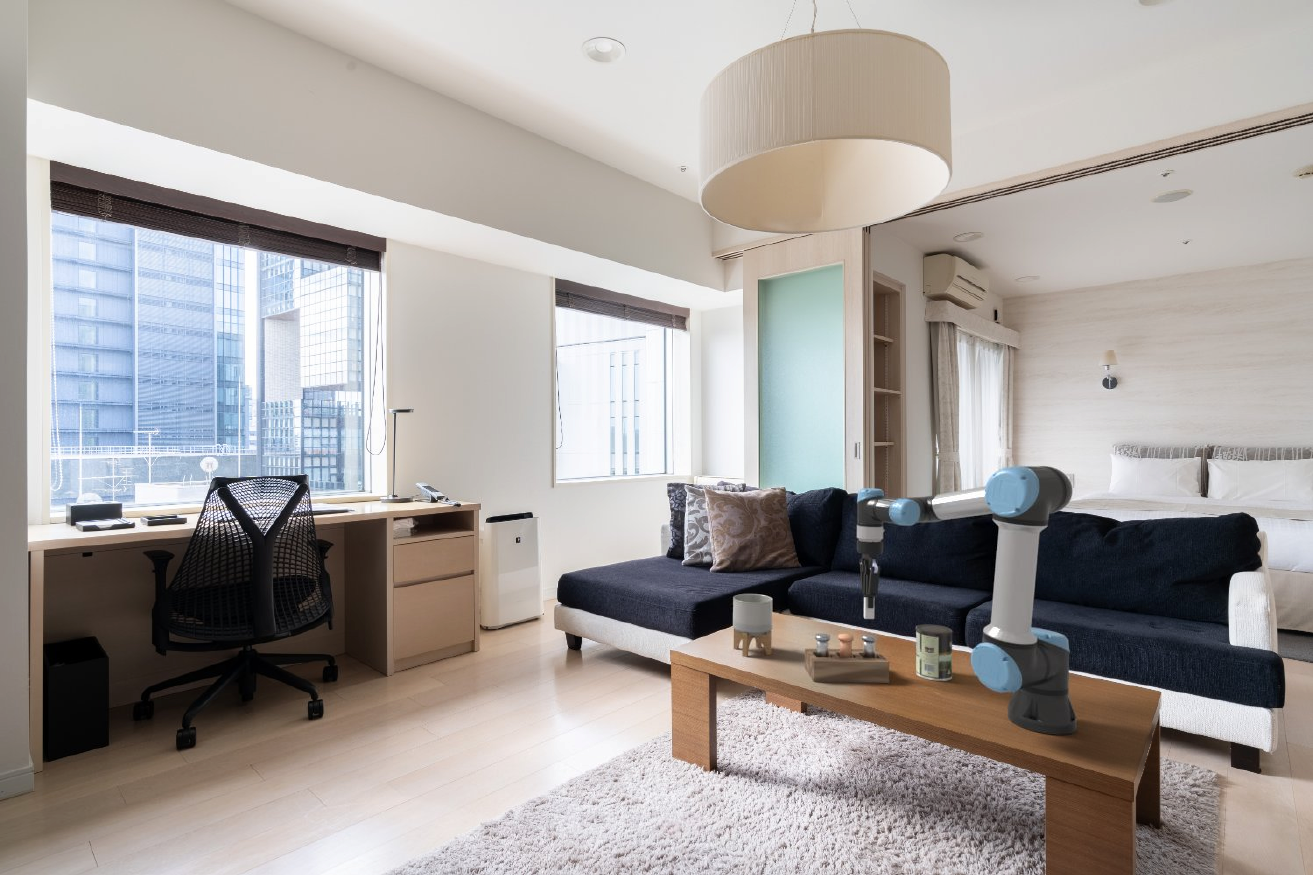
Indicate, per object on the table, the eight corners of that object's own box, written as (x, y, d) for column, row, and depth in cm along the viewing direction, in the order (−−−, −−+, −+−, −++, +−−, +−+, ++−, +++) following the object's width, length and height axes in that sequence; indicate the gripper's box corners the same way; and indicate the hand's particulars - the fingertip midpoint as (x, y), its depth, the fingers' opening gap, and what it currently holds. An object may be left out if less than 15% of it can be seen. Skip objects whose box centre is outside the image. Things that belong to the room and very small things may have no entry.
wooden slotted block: (889, 682, 196) (889, 661, 196) (813, 681, 196) (813, 661, 196) (875, 668, 208) (875, 649, 208) (804, 667, 208) (804, 648, 208)
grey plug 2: (878, 662, 199) (878, 638, 200) (863, 662, 199) (864, 638, 200) (873, 658, 204) (874, 634, 204) (859, 657, 204) (859, 633, 204)
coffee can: (947, 670, 206) (948, 625, 207) (955, 682, 196) (956, 634, 196) (912, 668, 208) (913, 622, 209) (918, 679, 198) (919, 632, 198)
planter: (742, 643, 233) (742, 592, 233) (777, 649, 226) (778, 596, 226) (726, 653, 221) (726, 599, 222) (763, 660, 215) (763, 604, 215)
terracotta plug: (855, 662, 199) (855, 638, 200) (840, 662, 200) (840, 637, 200) (850, 657, 204) (851, 633, 204) (836, 657, 204) (836, 633, 204)
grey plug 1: (831, 662, 200) (831, 637, 200) (816, 662, 200) (817, 637, 200) (827, 657, 204) (828, 633, 204) (813, 657, 204) (813, 633, 204)
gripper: (889, 543, 195) (888, 624, 195) (875, 536, 209) (874, 612, 208) (864, 542, 196) (863, 623, 195) (851, 536, 209) (850, 612, 208)
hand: (868, 618), depth 202 cm, fingers closed
